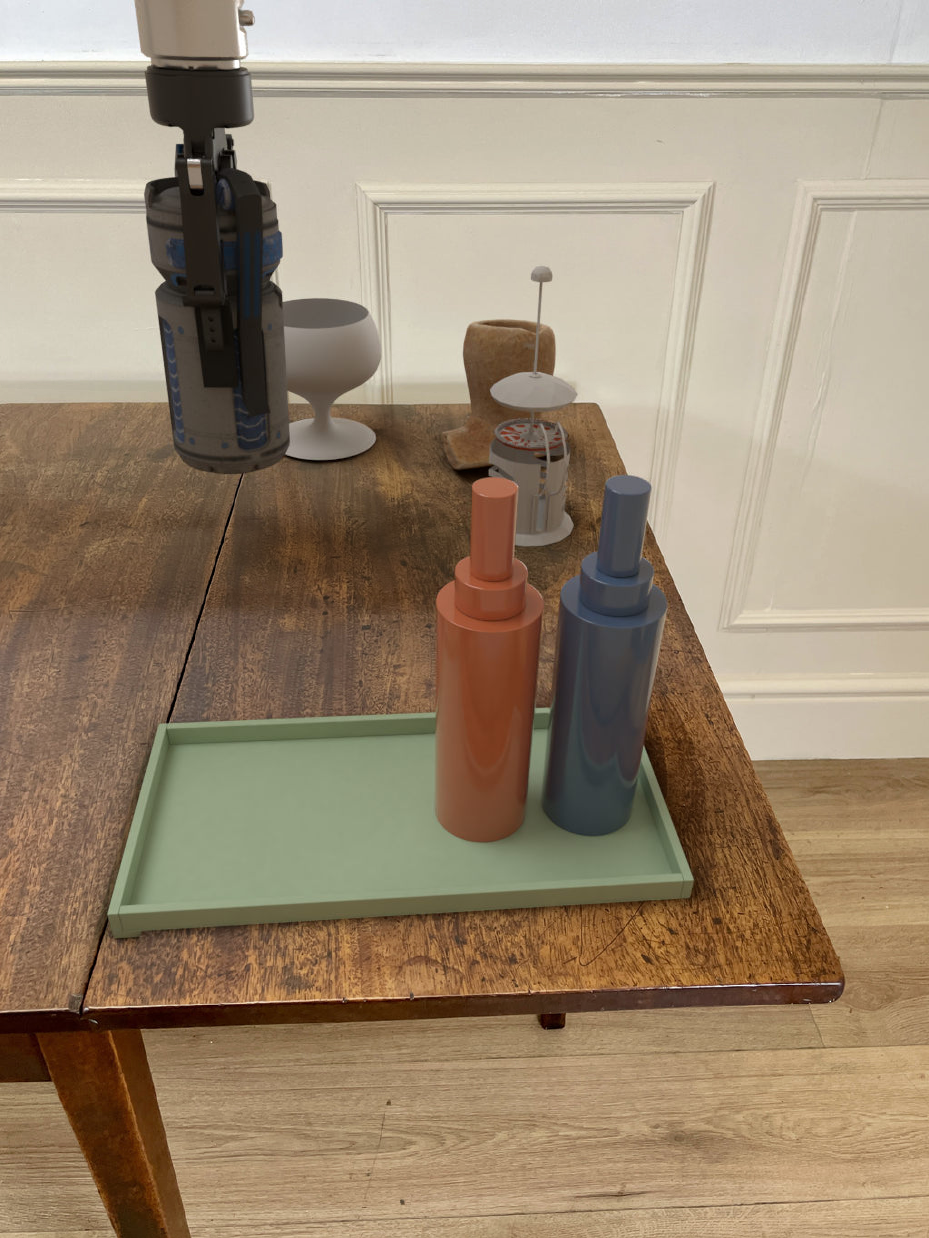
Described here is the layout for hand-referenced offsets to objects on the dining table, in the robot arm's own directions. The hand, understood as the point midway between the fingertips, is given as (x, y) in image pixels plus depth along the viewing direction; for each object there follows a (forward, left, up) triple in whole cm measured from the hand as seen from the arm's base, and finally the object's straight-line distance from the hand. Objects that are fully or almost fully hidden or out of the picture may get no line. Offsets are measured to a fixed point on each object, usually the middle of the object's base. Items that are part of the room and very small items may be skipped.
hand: (229, 363), depth 81 cm
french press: (+27, +2, -18) cm, 33 cm away
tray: (+13, -37, -18) cm, 43 cm away
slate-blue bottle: (+25, -37, -17) cm, 48 cm away
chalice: (+6, +24, -18) cm, 31 cm away
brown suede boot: (+26, +20, -18) cm, 38 cm away
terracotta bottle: (+18, -37, -17) cm, 45 cm away
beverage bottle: (0, -1, -9) cm, 9 cm away
